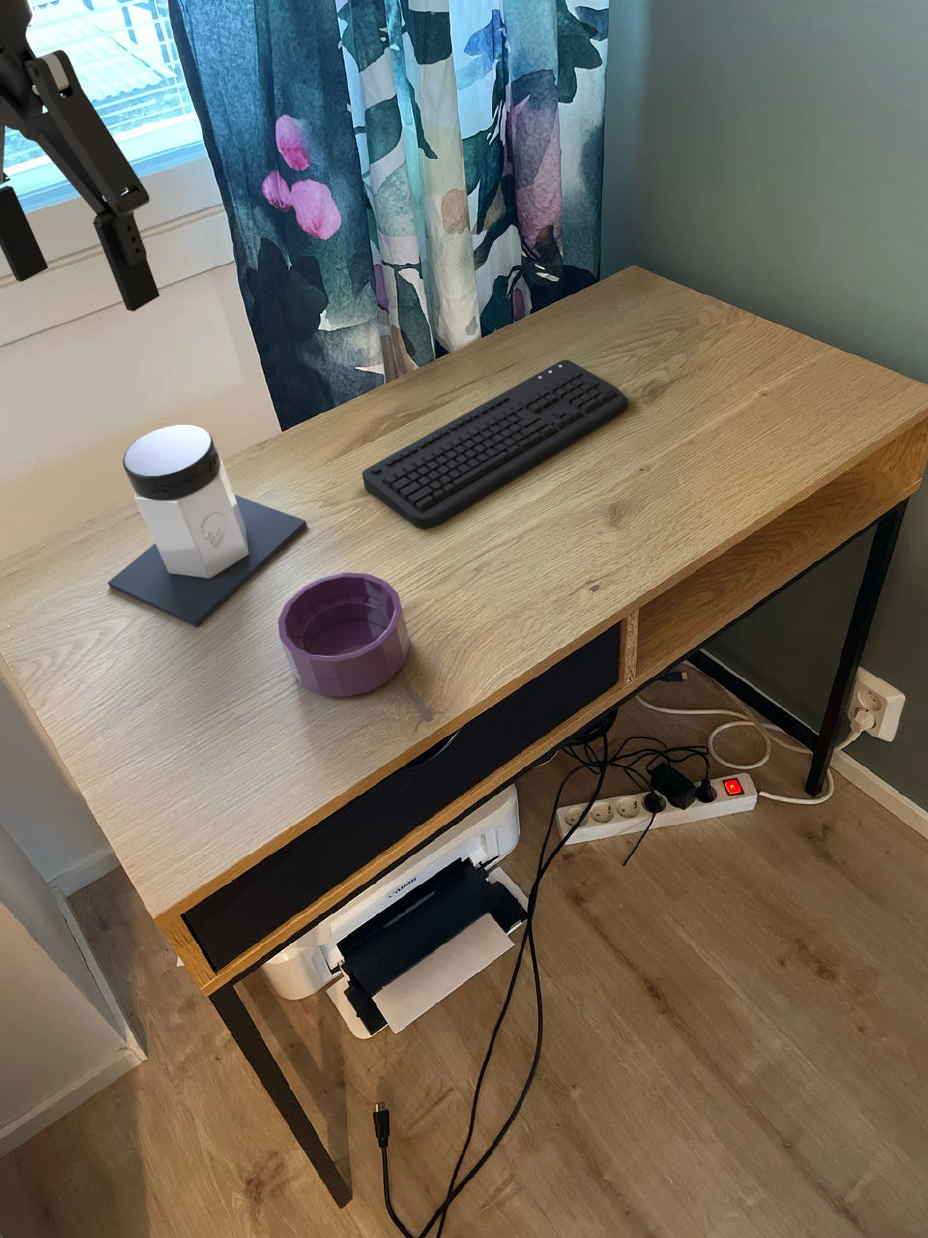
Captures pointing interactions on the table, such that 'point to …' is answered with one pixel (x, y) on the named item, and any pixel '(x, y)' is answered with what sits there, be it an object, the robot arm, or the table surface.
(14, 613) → the table surface
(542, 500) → the table surface
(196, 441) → the jar
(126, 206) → the robot arm
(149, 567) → the placemat
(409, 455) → the keyboard
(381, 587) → the bowl
